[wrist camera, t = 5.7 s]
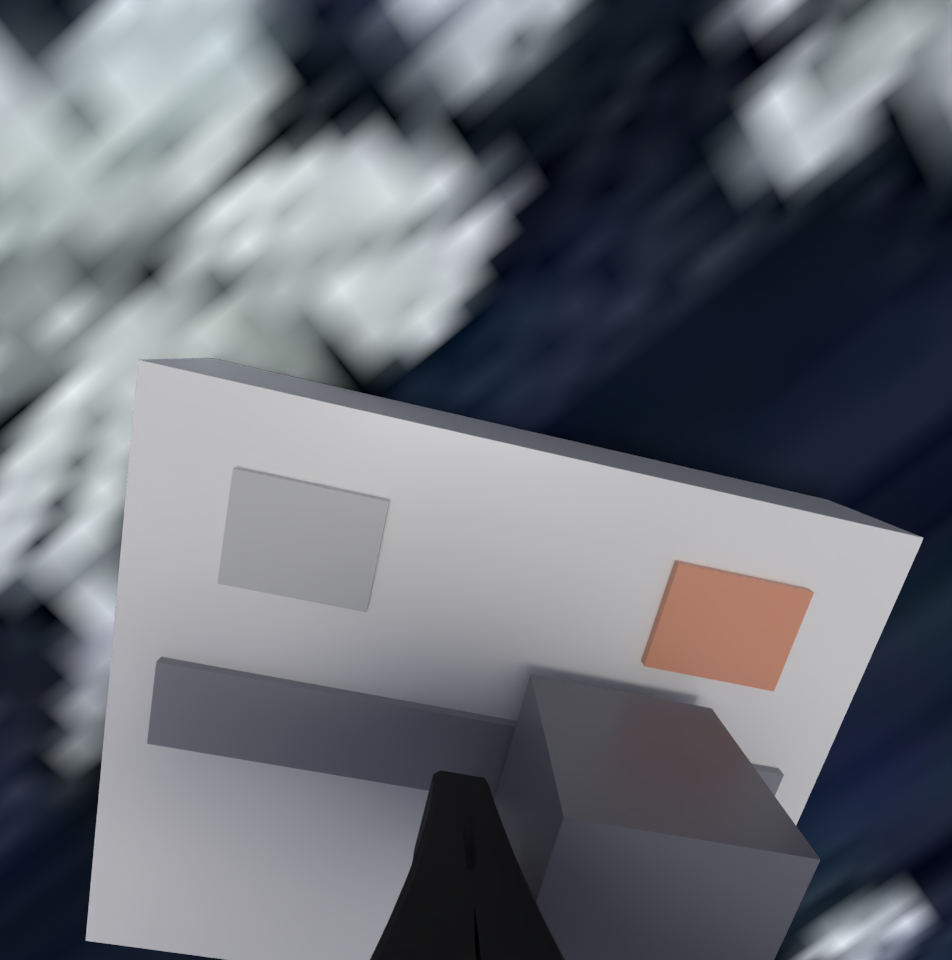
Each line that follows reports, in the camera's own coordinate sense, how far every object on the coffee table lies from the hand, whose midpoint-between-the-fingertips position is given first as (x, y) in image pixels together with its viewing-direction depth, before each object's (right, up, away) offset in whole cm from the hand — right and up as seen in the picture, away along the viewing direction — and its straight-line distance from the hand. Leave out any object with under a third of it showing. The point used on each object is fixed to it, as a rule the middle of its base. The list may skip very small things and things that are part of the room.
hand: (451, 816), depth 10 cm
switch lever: (+3, 0, +2) cm, 3 cm away
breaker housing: (0, +1, +5) cm, 5 cm away
